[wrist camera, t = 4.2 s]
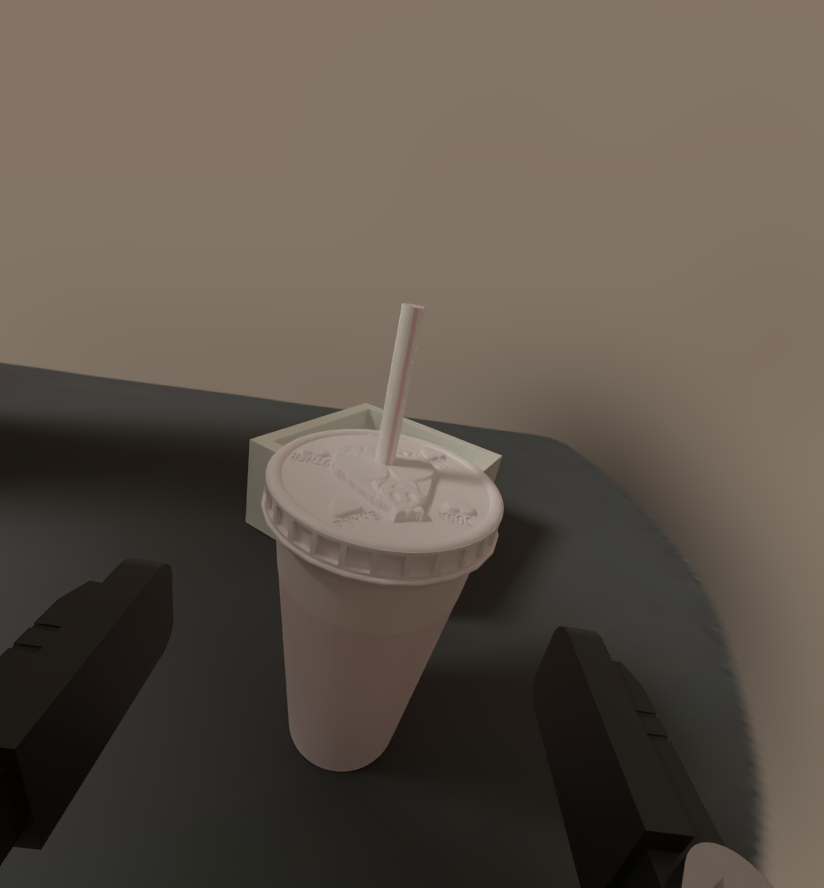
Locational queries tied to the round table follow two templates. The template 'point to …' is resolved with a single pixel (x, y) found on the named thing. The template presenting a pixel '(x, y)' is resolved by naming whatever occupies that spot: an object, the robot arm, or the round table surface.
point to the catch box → (346, 419)
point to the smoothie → (370, 567)
